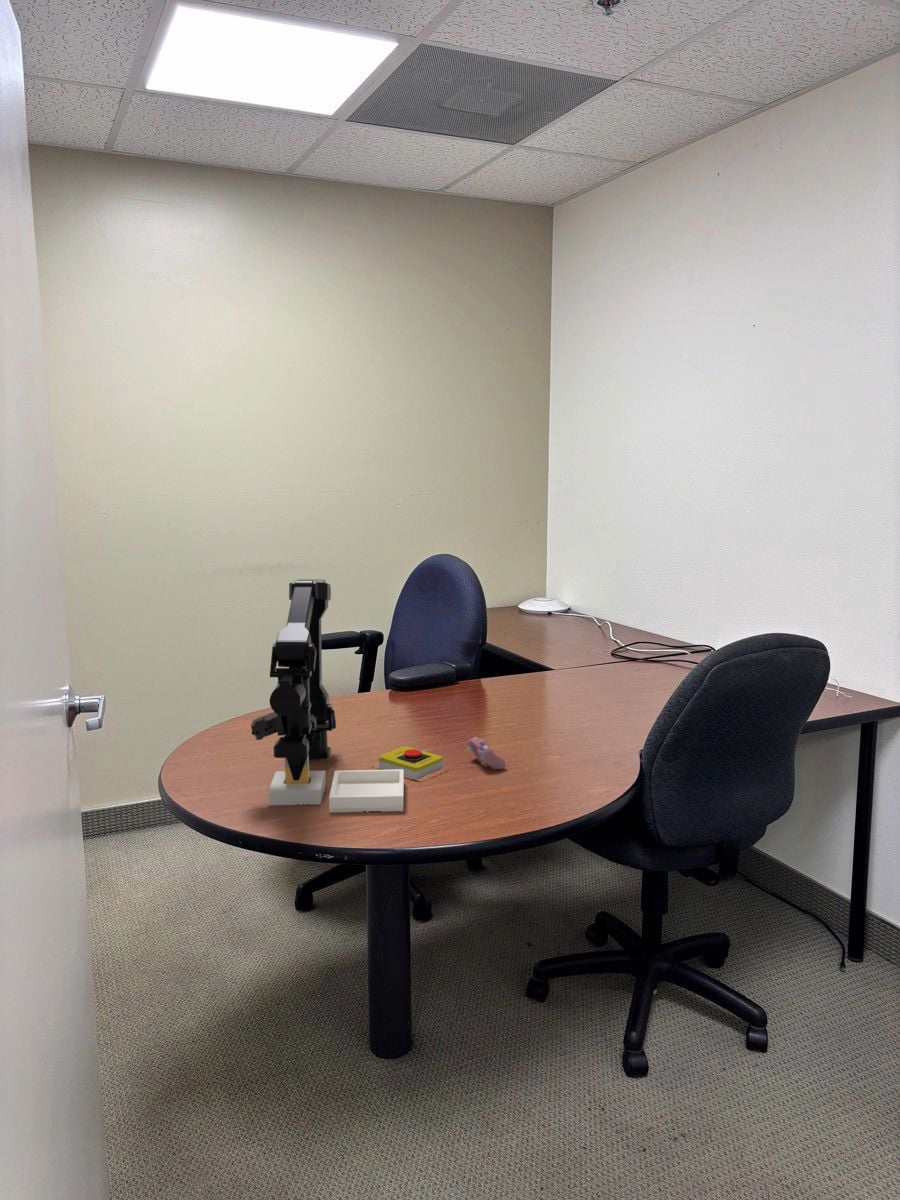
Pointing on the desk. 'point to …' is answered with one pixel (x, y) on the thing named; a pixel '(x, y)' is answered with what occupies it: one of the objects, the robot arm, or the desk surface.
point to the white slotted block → (297, 790)
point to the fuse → (304, 775)
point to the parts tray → (367, 790)
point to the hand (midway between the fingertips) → (297, 776)
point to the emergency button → (411, 762)
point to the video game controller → (485, 753)
